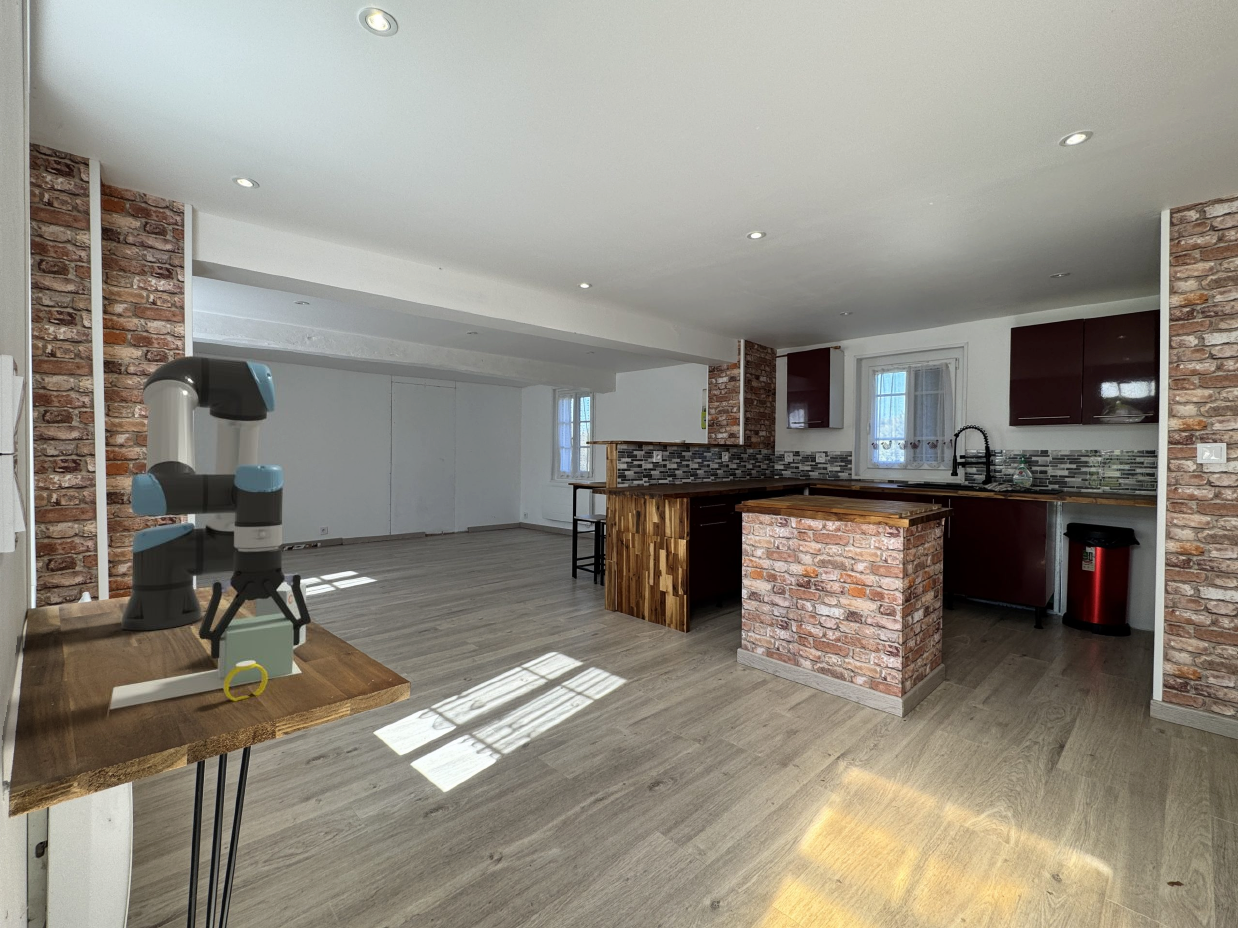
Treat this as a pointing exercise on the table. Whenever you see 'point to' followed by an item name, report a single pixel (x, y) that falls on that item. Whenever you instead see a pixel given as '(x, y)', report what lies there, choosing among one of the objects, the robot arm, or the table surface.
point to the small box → (287, 595)
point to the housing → (259, 646)
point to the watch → (245, 666)
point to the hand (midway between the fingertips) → (256, 669)
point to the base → (172, 687)
